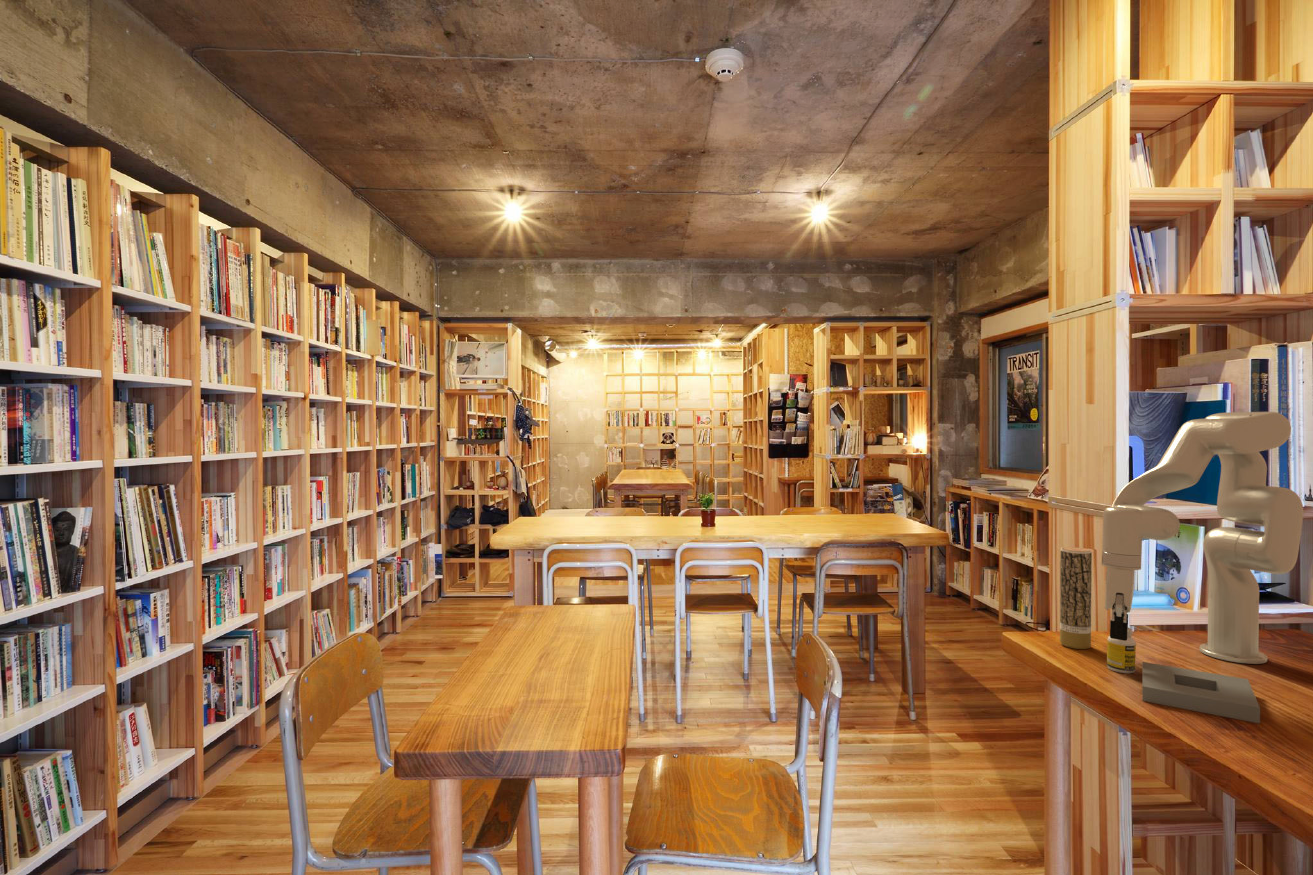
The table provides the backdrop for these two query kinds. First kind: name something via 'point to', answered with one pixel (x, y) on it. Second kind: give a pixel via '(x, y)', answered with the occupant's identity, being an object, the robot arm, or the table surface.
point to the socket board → (1200, 692)
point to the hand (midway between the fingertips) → (1119, 634)
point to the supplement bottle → (1121, 654)
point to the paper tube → (1075, 597)
